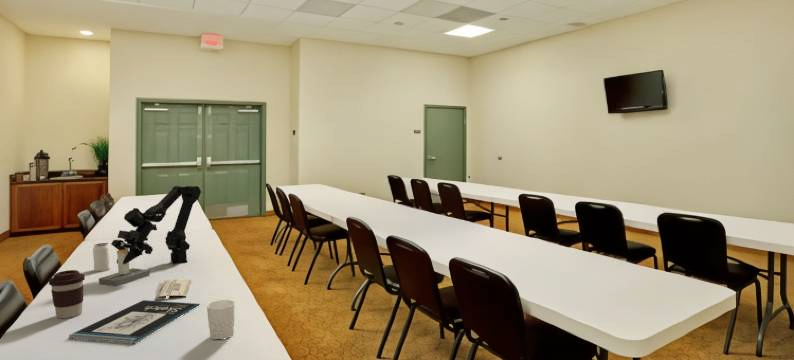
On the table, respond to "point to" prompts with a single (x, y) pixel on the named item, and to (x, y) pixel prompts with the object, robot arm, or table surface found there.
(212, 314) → the white cup
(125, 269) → the fader knob
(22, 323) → the table surface
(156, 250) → the table surface
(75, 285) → the coffee cup
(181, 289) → the open book
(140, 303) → the sketchbook
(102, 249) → the can
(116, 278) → the console
